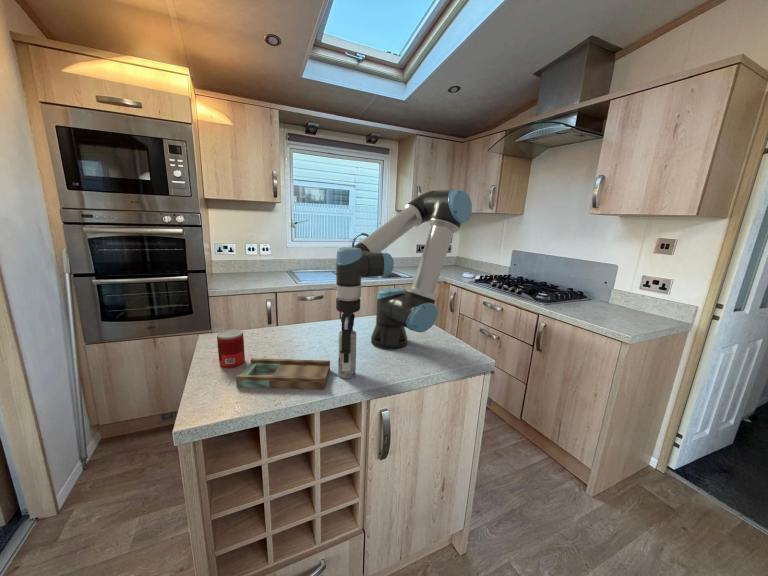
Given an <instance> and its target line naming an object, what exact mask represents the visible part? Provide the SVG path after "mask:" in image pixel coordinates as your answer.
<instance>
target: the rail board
mask: <svg viewBox="0 0 768 576" xmlns="http://www.w3.org/2000/svg"><path fill="white" fill-rule="evenodd" d="M257 372H263V373H265V372H267V373H268V372H269V373H272V372H273V374H272V375H270V374H269V375H266V374H264V375H263V374H260V375H259V374H256V373H257ZM330 372H331V360H323V359H322V360H321V359H318V360H317V359H291V358H290V359H289V358H284V359H283V358H259V357H258V358H257V357H255V358H253V357H252V358H251V359H250V363H249V364H248V365H247V366H246V368H244V370H243V371H242V372H241V373H240V374H237V375H236V376H235V382H236V385H235V386H236V388H245V389H246V388H248V389H249V388H250V389H251V388H253V389H285V390H287V389H288V390H291V389H293V390H317V391H318V390H322V391H323V390H325V387H326V385H327V382H328V379H329V374H330Z"/></svg>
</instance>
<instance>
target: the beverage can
mask: <svg viewBox="0 0 768 576" xmlns="http://www.w3.org/2000/svg"><path fill="white" fill-rule="evenodd" d="M350 350H351V370H350V371H342V353H340V351H342V330H341V331H339V332H338V367H337V368H338V369H337V370H338V372H337V373H338V376H339V377H340V378H342V379H352V378H354V377H355V376H356V369H357V368H356V364H357V361H356V359H357V332H356V331H354V330H353V331H351V346H350Z"/></svg>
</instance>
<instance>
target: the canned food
mask: <svg viewBox="0 0 768 576" xmlns="http://www.w3.org/2000/svg"><path fill="white" fill-rule="evenodd" d="M216 338H217V339H216V340H217V341H216V342H217V343H216V344H217V352H218V353H217V354H218V363H219V365H220V367H221V368H225V369H232V368H233V369H234V368H236V367H239V366H241V365H242V364H244V362H245V360H246V358H245V357H246V356H245V340H244V338H245V337H244V332H243V330H242V329H238V328H237V329H236V328H233V329H232V328H231V329H226V330H223V331H220V332H218V333H217V335H216Z"/></svg>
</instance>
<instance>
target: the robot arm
mask: <svg viewBox="0 0 768 576" xmlns="http://www.w3.org/2000/svg"><path fill="white" fill-rule="evenodd" d="M472 213H473V204H472V200H471V198H470V195H469V194H468V192H466V191H465V190H464V189H463V190H462V189H446V190H444V189H443V190H430V191H427V192H424V193H422V194H420V195H419V196H417V197H415V198H414V199H412V200H411V201H409V202H408V203H407V204H405V205H404V206H403V209H402V211H401V212H399V213H397V214H396V215H395V216H393V217H391V219H389V220H387V221H386V222H385V223H384V224H382V225H381V226H380V227H378V228H376V230H374V231H373V232H372V233H370V234H369V235H368V236H366V237H365V238H363V239H362V240H360V241H359V242H358V243H356V244H355V245H354V246H349V247H347V246H344V247H339V248H338V249H337V251H336V261H335V266H336V267H335V268H336V269H335V271H336V273H335V274H336V275H335V276H336V277H335V278H336V280H335V282H336V283H335V284H336V285H335V286H334V287H333V289H334V290H335V291H336V294H335V295H336V297H337V298H336V299H335V309H336V311H338V312H340V313H342V314H341V317H340V322H341V331H342V351H340V353H342V371H350V370H351V350H350V346H351V331H354V326H355V317H356V316H355V313H358V312H359V311H360V310H361V294H362V290H361V289H362V279H363V278H372V277H373V278H374V277H383V276H388V275H390V274H391V273H392V272H393V270H394V265H395V262H394V258H393V256H392V255H391V254H390V253H389V252H383V251H384V250H385V249H387V248H388V247H389V246H390V245H392V244H394V242H396V241H397V240H398V239H400V238H401V237H402V236H403V235H404V234H406V233H407V232H409V231H410V230H411V229H412V228H414V227H419V226H421V225H422V224H423V223H426V222H428V223H429V224H430V230H429V232H428V237H427V239H426V242H425V245H424V248H423V252H422V254H421V256H420V260H419V263H418V266H417V269H416V272H415V275H414V277H413V281H412V284H411V287H409V288H408V289H405V288H402V287H399V288H398V287H391V288H382V289H380V290H378V291H377V295H376V296H377V297H376V313H375V314H376V315H375V318H376V319H375V321H376V322H375V327H374V328H373V332H372V334H371V336H370V337H371V339H370V343H371V345H373V346H374V347H376V348H378V349H382V350H387V351H388V350H389V351H391V350H392V351H393V350H401V349H403V348H405V347H406V346H407V345H408V335H407V331H406V328H407V329H408V330H409V331H413V332H417V333H425V332H426V331H428V330H430V329H431V328H433V326H434V324H435V323H436V321H437V318H438V315H439V312H438V308H437V307H438V306H436V305H435V304H436V303H435V302H436V300H437V299H436V297H435V295H434V292H435V289H436V288H437V284H438V282H439V278H440V276H441V275H440V274H441V272H442V269H443V266H444V263H445V261H446V257H447V254H448V250H449V249H450V245H451V242H452V239H453V235H454V234H455V233H457V232H459V231H460V228H461V224H465V223H467V222H468V221H469V220H470V218H471V217H472Z"/></svg>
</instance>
